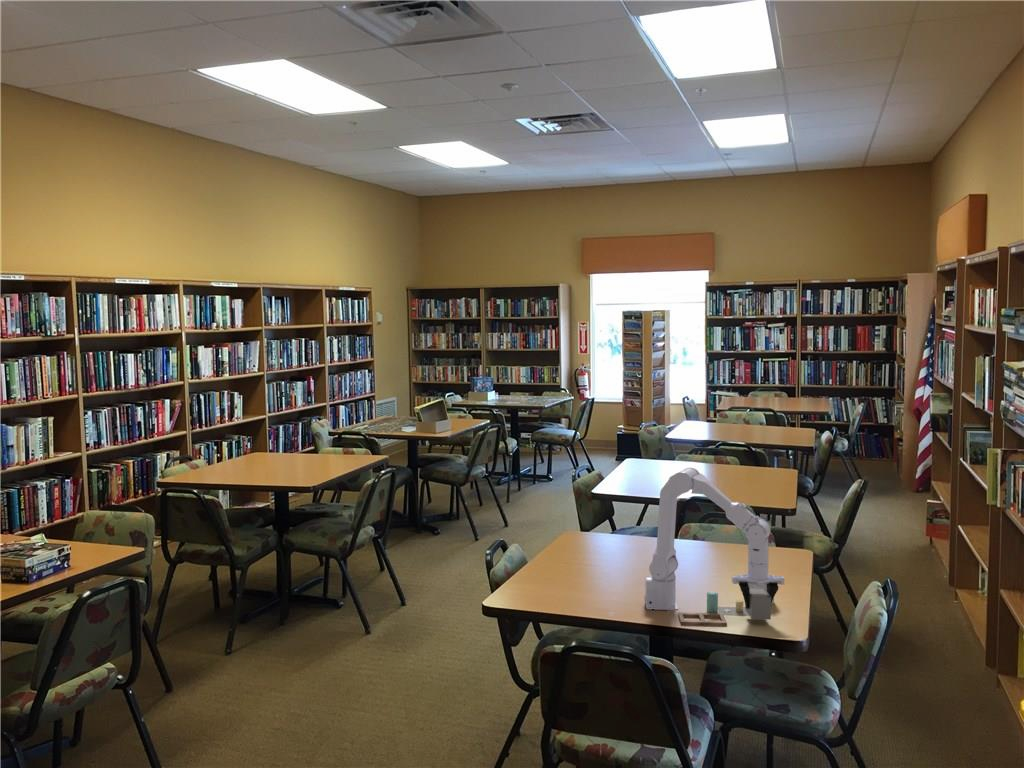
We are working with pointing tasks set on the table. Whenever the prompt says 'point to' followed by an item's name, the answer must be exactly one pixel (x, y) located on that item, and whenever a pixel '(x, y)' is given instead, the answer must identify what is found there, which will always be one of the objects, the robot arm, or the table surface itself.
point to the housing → (759, 604)
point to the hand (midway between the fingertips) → (757, 607)
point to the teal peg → (712, 602)
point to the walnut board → (702, 619)
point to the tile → (734, 609)
